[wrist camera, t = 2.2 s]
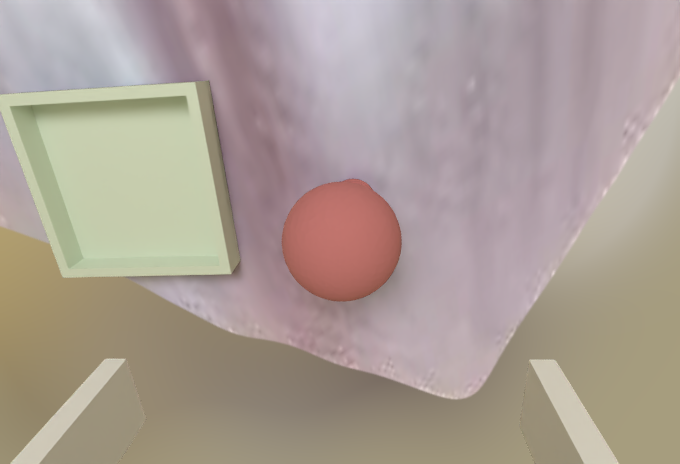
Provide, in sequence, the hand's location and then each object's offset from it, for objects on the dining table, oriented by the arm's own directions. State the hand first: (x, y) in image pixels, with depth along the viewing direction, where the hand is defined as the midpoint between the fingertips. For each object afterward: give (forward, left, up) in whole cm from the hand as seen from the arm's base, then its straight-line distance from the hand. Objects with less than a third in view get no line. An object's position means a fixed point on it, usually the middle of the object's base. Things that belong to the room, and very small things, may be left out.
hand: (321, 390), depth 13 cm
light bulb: (0, 0, -21) cm, 21 cm away
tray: (-17, +2, -20) cm, 27 cm away
